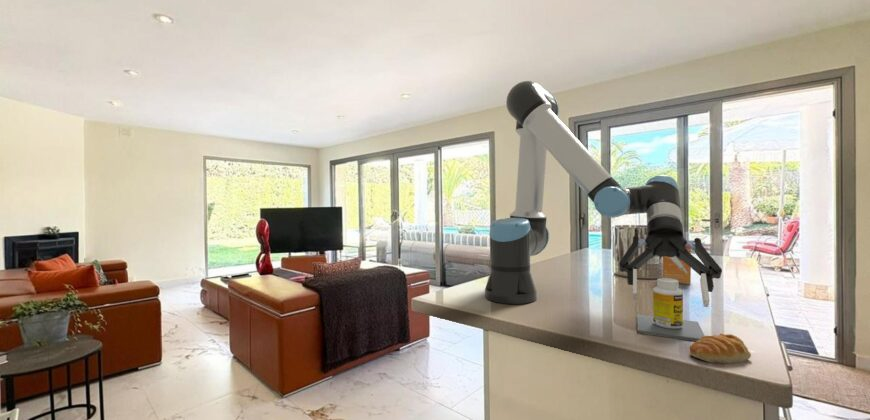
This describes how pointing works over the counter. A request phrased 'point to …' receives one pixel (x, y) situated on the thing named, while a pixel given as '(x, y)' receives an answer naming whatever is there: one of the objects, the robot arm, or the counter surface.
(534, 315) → the counter surface
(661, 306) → the supplement bottle
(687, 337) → the mat
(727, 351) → the pastry
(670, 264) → the small box
